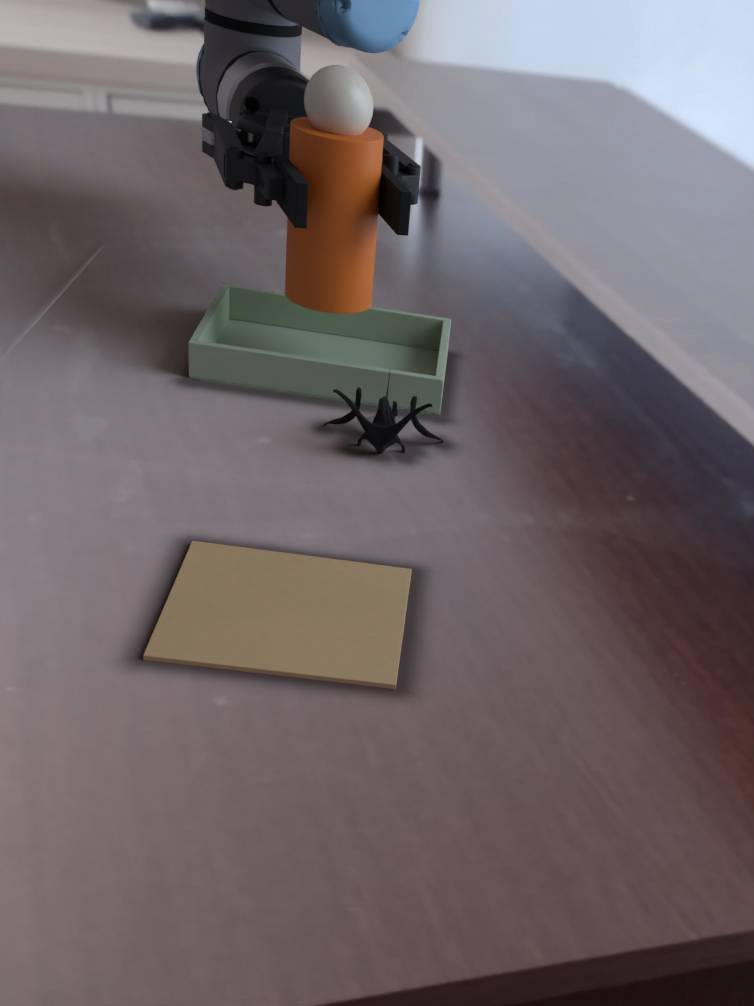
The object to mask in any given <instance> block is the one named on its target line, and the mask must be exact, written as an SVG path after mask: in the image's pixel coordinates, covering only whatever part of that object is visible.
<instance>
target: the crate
mask: <svg viewBox="0 0 754 1006" xmlns="http://www.w3.org/2000/svg"><path fill="white" fill-rule="evenodd" d="M451 326H452V318H450V317H449V318H448V317H441V316H435V315H430V314H429V315H428V314H422V313H416V312H409V311H402V310H397V309H390V308H384V307H378V306H372V305H371V307H370V308H369V309H368V310H366V311H363V312H359V313H351V314H337V313H327V312H321V311H316V310H312V309H308V308H305V307H302V306H300V305H297V304H295V303H293V302H292V301H290V300H289V299H288V298H287V297H286V295H285V292H281V291H275V290H269V289H264V288H263V289H262V288H257V287H256V288H255V287H249V286H243V285H238V284H231V283H222V284H221V286H220V287H219V289H218V291H217V292H216V295H215V296H214V298H213V299H212V301H211V303H210V305H209V306H208V307H207V310H206V311H205V313H204V315H203V316H202V318H201V320H200V322H199V324H198V325H197V327H196V328H195V330H194V332H193V333H192V335H191V337H190V339H189V341H188V343H187V347H188V351H187V353H188V378H189V379H194V380H201V381H207V382H208V381H209V382H216V383H223V384H227V385H228V384H229V385H236V386H243V387H249V388H250V387H251V388H255V389H262V390H269V391H276V392H283V393H284V392H285V393H291V394H298V395H304V396H311V397H319V398H325V399H331V400H332V399H333V400H340V401H345V400H344V399H343V398H342V397H341V396H339V395H338V394H337V393H335V392H334V393H333V390H334V389H337V390H339V391H340V392H342V393H343V394H344V395H346V396H347V397H348V398H349V399H350V400H351V401H352V402H353V403H355V402H356V390H357V387H360V388H361V391H362V392H361V394H362V396H361V404H367V405H373V406H378V404H379V399H380V398H382V397H384V396H386V393H387V387H388V380H389V388H388V401H389V404H390V407H391V408H392V405H393V401H396V402H397V409H401V410H407V411H410V407H411V405H410V402H411V399H412V397H413V396H417V404H416V409H417V408H418V407H421V406H423V405H425V404H432V407H428V408H426V409H424V410H422V411H421V413H427V414H433V415H434V414H435V415H441V410H442V402H443V393H444V387H445V386H444V385H445V379H446V370H447V363H448V362H447V361H448V355H449V354H448V353H449V345H450V337H451V336H450V335H451V328H452V327H451ZM390 368H391V369H390ZM389 373H390V378H389Z"/></svg>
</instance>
